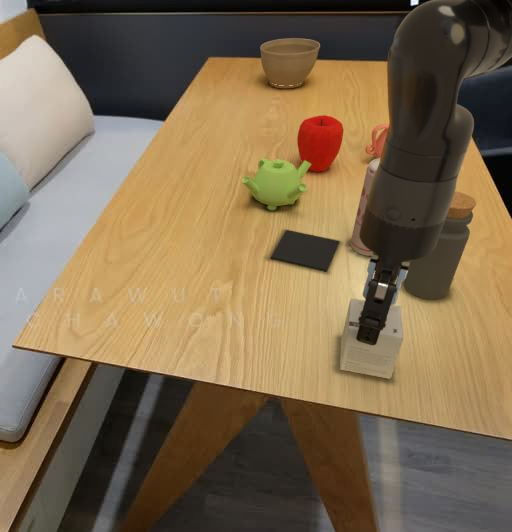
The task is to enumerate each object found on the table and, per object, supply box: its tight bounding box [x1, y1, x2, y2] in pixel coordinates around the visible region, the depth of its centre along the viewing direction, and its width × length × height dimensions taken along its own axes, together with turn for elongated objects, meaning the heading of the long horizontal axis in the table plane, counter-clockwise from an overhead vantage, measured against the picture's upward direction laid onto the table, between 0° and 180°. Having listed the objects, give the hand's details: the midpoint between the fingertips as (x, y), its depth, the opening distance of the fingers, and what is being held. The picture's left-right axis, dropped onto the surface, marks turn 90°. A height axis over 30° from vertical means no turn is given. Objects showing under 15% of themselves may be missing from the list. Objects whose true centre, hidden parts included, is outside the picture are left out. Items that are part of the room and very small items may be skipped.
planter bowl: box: [259, 37, 321, 89], centre depth 151 cm, size 16×16×11 cm
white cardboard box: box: [339, 298, 404, 380], centre depth 66 cm, size 6×6×7 cm
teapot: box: [241, 158, 311, 211], centre depth 99 cm, size 11×12×8 cm
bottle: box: [403, 191, 477, 300], centre depth 73 cm, size 6×6×15 cm
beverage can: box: [349, 158, 380, 257], centre depth 83 cm, size 6×6×15 cm
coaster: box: [270, 229, 340, 273], centre depth 88 cm, size 9×9×1 cm
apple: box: [296, 114, 345, 173], centre depth 108 cm, size 9×9×11 cm
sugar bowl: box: [364, 123, 389, 159], centre depth 106 cm, size 12×14×10 cm
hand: (372, 319), depth 64 cm, fingers open, 8 cm apart
